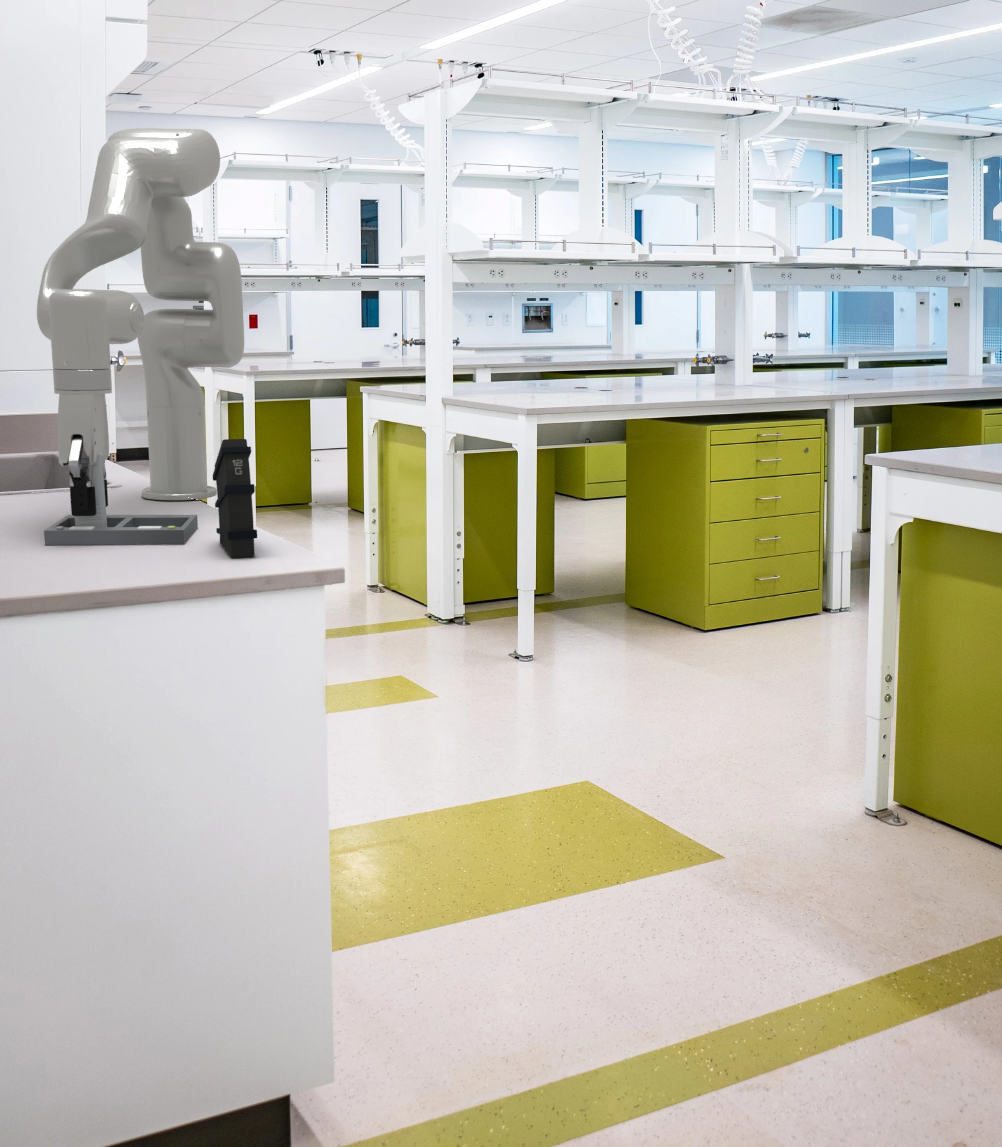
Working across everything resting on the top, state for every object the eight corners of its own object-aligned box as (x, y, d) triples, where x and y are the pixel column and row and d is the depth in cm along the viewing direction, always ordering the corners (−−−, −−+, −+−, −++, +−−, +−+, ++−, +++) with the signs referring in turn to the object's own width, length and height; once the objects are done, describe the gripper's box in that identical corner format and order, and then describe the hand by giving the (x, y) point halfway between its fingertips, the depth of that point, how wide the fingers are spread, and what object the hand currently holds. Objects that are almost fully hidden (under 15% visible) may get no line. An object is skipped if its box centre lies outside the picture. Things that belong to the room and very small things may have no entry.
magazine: (231, 550, 150) (220, 438, 153) (220, 575, 162) (210, 471, 165) (261, 549, 151) (249, 437, 154) (248, 574, 163) (237, 470, 166)
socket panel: (68, 528, 173) (67, 513, 173) (197, 528, 175) (197, 512, 175) (44, 545, 160) (43, 528, 160) (184, 544, 162) (183, 527, 162)
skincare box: (75, 533, 169) (70, 449, 167) (107, 532, 171) (102, 448, 168) (75, 541, 164) (70, 454, 161) (108, 539, 165) (103, 453, 163)
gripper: (70, 379, 171) (77, 502, 175) (37, 385, 154) (46, 521, 158) (123, 379, 172) (130, 502, 175) (96, 386, 155) (104, 521, 159)
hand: (90, 510), depth 167 cm, fingers closed on skincare box, 6 cm apart
